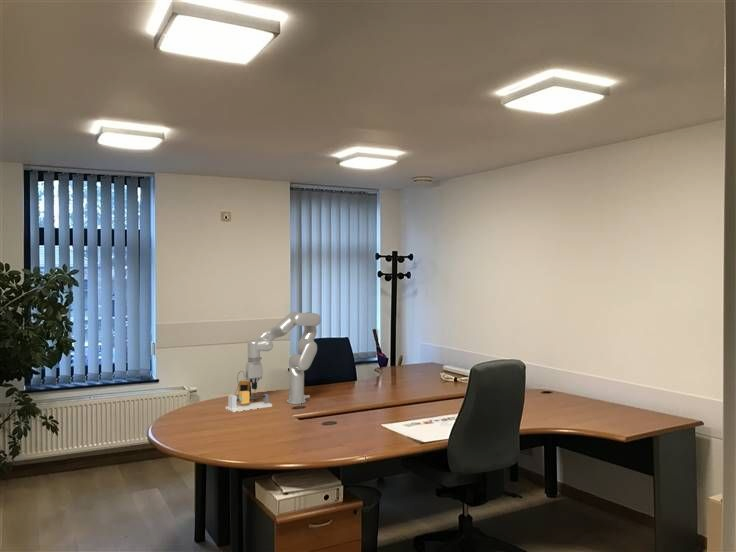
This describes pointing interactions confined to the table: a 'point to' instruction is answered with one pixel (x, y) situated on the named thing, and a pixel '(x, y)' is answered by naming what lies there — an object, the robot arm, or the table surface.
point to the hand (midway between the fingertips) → (254, 388)
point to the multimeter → (245, 386)
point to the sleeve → (244, 396)
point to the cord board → (234, 407)
